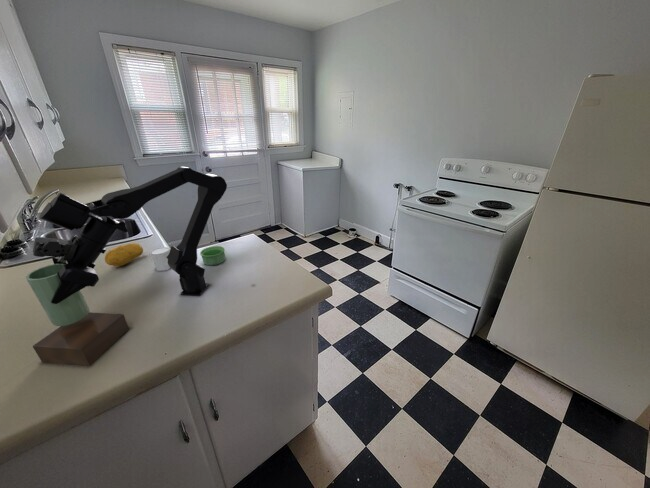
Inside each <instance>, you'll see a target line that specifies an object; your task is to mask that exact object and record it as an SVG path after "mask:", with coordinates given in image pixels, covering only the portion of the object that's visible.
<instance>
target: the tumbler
mask: <svg viewBox="0 0 650 488" xmlns="http://www.w3.org/2000/svg"><path fill="white" fill-rule="evenodd" d="M63 265H65V264H54V263H52V264H48V265H45V266H41V267H39V268H37V269H34V270H32V271H31V272H29V273H27V274H26V276H25V279H26V281H27V283H28V285H29V286H30V288H31V289H32V291H33V293H34V295H35V297H36V298H37V300H38V302H39V304H40V306H41V307H42V309H43V311H44V312H45V314H46V316H47V317H48V319H49V321H50V322H51V324H52V325H53V326H54V327H60V326H65V325H69V324H72V323H75V322H77V321H79V320H81V319H82V318H84V317H85V316H86V315H87V314H88V313H89V312H90V307H89V305H88V303H87V301H86V299H85V297H84V295H83V293H82V291H81V290H79V291H78V292H76V293H74V294H72V295H71V296H69V297H68V298H66V299H64V300H63V301H61V302H59V303H58V304H53V303H51V300H52V298H53V296H54V294H55V292H56V290H57V287H58V285H59V283H60V279H59V278H58V275H57V272H58V273H59V272H60V270H61V268H62V267H63Z"/></svg>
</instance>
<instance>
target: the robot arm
mask: <svg viewBox="0 0 650 488" xmlns="http://www.w3.org/2000/svg"><path fill="white" fill-rule="evenodd" d="M187 183H189V184H193V185H195V186H197V201H196V204H195V206H194V208H193V211H192V214H191V216H190V219H189V221H188V224H187V226H186V228H185V231H184V234H183V236H182V239H181V241H180V243H178V245H176V246H174V245H171V246H170V253H169V255H168V256H167V257H166V258H167V259H168V265H169V267H170V269H171V270H172V271H174V272H175V273H176V274H177V275H179V276H178V277H179V279H178V280H179V284H180V287H181V292H180V295H181V296H199V297H200V296H201V295H202V294H203V293H204V291H205V290H206V289H207V288H208V287H209V286H210V284H209V283H208V282H206V280H205V279H206V278H205V272H206V269H205V268H204V267H203V266H201V265H200V264H198V263H197V262H198V247H199V244H200V241H201V239H202V237H203V233H204V231H205V228H206V226H207V224H208V221H209V218H210V216H211V214H212V211H213V208H214V206H215V205H216V204H217V203H219V201H220V200H221V199H222V198H223V196H224V194H225V193H226V191H227V189H228V184H227V181H226V180H225V178H224V177H223V176H221V175H216V174H212V173H202V172H199V171H197V170H194V169H193V168H191V167H187V166H178V167H177V168H176V169H173V170H171V171H169V172H167V173H165V174H162V175H160V176H158V177H156V178H154V179H152V180H149V181H147V182H145V183H142V184H140V185H138V186H134V187H130V188H123V189H119V190H115V191H111V192H107V193H105V194H104V195H103V196H102V197H101V198H99V199H97V200H93V201H90V202H86V203H83V202H80V201H78V200H76V199H74V198H72V197H70V196H69V195H68V194H66V193H63V192H58V194H57V195H56V196H55V197H54V198H53V199H52V200H51V201H49V202H47V203H46V205H45V206H44V208H43V209H42V211H41V212H40V214H39V217H38V218H39V220H41V221H45V222H47V223H50V224H53V225H56V226H57V227H61V228H63V229H66V230H69V231H73V230H80V232H79V233H78V235H77V234H74V235H72V236H71V237H70V239H64V238H56V237H55V238H54V237H43V236H42V237H40V236H37V237H36V236H35V238H34V241H33V246H32V247H33V248H32V255H33V256H34V257H38V258H39V257H40V258H43V257H51V260H52V262H53V263H52V264H65V265H63V267H62V268H61V270H60V272H59V273H58V272H57V275H58V278H59V279H60V283H59V285H58V287H57V290H56V292H55V294H54V296H53V298H52V300H51V303H53V304H58V303H59V302H61V301H63V300H64V299H66V298H68V297H69V296H71V295H72V294H74V293H76V292H78V291H79V290H80V291H81V290H83V289H85V288H87V287H92V288H93V287H95V286H96V285H97V283H98V282H99V281H100V278H99V276H98V274H97V272H96V270H95V269H94V268H95V267H96V266H97V264H96V263H95V262H96V261H97V259H98V258H99V256H100V255H101V254H103V255H104V254H106V252H107V249H106V246H107V245H108V244H109V242H110V241H111V239H112V238H113V236H114V235H115V233H116V232H117V231H118V230H119V231H121V232H124V233H129V230H128V228H127V225H126V221H125V219H128V218H130V217H132V216H133V215H134V214H136V213H137V212H138V211H139V210H141V209H142V208H143V207H144V206H145V205H146V204H147V203H149V202H150V201H152V200H154V199H156V198H158V197H160V196H162V195H165V194H166V193H168V192H170V191H173V190H175V189H177V188H179V187H181V186H183V185H185V184H187ZM116 219H118V220H116Z"/></svg>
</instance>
